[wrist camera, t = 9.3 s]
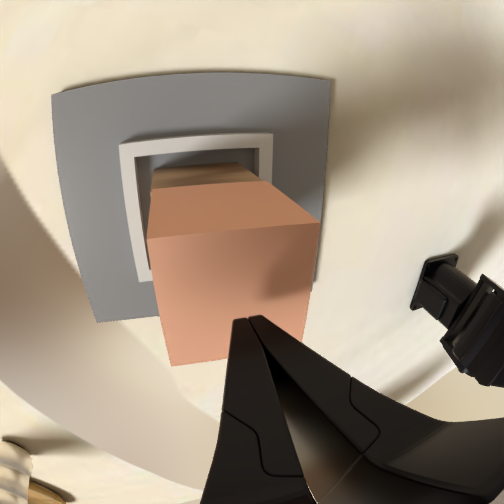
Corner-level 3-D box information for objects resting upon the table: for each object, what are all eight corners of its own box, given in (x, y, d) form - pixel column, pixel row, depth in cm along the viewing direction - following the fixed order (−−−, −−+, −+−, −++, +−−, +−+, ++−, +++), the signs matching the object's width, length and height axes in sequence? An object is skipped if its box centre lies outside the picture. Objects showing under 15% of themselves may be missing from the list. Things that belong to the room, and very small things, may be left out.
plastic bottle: (-7, 431, 23) (-15, 543, 6) (32, 446, 26) (32, 561, 9) (0, 446, 25) (-4, 546, 8) (35, 459, 28) (37, 561, 11)
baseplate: (324, 81, 17) (338, 80, 15) (307, 286, 24) (317, 298, 23) (56, 95, 13) (45, 94, 11) (98, 315, 20) (95, 331, 19)
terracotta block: (266, 180, 13) (320, 222, 9) (262, 276, 15) (301, 343, 11) (152, 189, 12) (146, 239, 7) (164, 289, 14) (171, 366, 10)
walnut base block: (238, 162, 17) (264, 182, 13) (238, 237, 20) (261, 277, 15) (153, 169, 16) (150, 192, 12) (162, 246, 18) (164, 291, 14)
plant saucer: (-31, 464, 27) (-32, 475, 24) (-5, 457, 27) (-7, 471, 24) (42, 502, 40) (43, 511, 37) (86, 498, 39) (87, 510, 37)
